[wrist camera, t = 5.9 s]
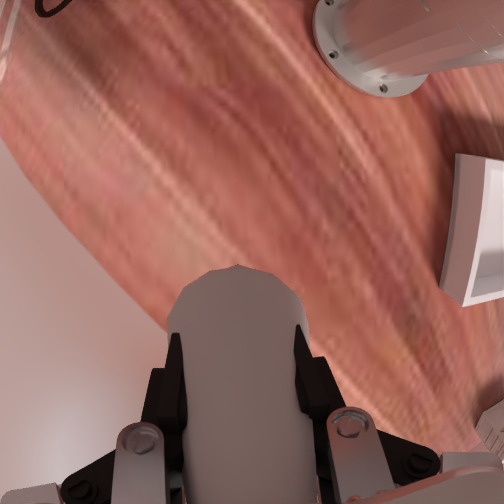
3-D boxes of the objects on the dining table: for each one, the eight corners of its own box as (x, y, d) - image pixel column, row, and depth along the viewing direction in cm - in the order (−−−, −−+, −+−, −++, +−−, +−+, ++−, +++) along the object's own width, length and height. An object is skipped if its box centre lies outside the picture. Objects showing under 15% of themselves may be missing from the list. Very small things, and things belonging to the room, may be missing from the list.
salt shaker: (319, 300, 15) (447, 558, 3) (238, 369, 17) (267, 614, 4) (230, 220, 14) (278, 600, 2) (149, 307, 15) (78, 591, 3)
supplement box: (505, 396, 48) (534, 431, 36) (495, 416, 50) (521, 450, 39) (482, 411, 48) (511, 449, 36) (473, 430, 50) (498, 467, 38)
